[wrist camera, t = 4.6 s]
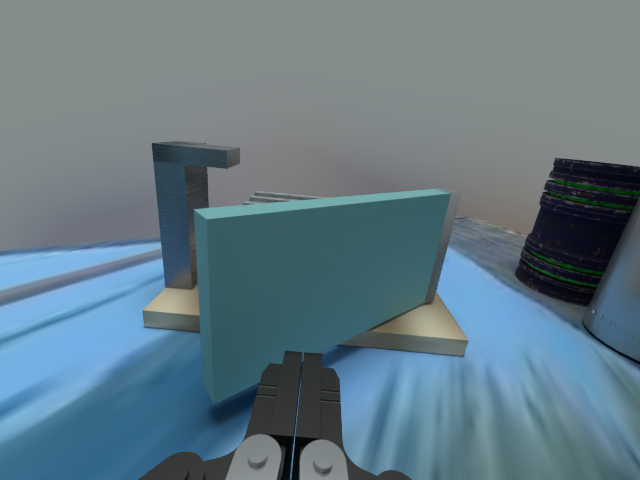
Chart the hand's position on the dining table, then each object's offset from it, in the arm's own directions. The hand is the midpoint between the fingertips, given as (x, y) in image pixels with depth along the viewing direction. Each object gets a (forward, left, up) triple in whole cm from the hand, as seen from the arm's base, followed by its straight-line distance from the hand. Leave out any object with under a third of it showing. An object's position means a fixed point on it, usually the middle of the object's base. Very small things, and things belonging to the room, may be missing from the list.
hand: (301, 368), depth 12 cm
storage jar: (-31, -25, -7) cm, 40 cm away
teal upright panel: (-3, -9, -5) cm, 11 cm away
